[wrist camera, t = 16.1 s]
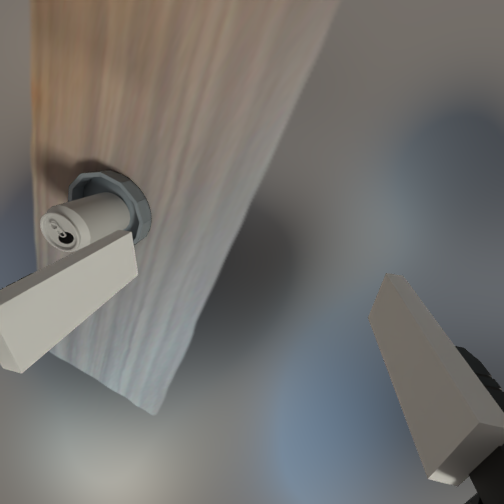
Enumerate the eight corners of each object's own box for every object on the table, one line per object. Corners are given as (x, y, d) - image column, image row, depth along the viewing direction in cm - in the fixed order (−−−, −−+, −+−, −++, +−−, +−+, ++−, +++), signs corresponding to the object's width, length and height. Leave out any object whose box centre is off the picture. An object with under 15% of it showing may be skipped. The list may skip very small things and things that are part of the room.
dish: (85, 155, 42) (70, 157, 39) (159, 193, 43) (149, 197, 40) (79, 223, 49) (66, 229, 46) (142, 255, 49) (133, 262, 47)
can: (111, 233, 48) (56, 261, 37) (89, 198, 45) (24, 217, 34) (140, 223, 45) (91, 249, 35) (119, 185, 43) (59, 201, 32)
